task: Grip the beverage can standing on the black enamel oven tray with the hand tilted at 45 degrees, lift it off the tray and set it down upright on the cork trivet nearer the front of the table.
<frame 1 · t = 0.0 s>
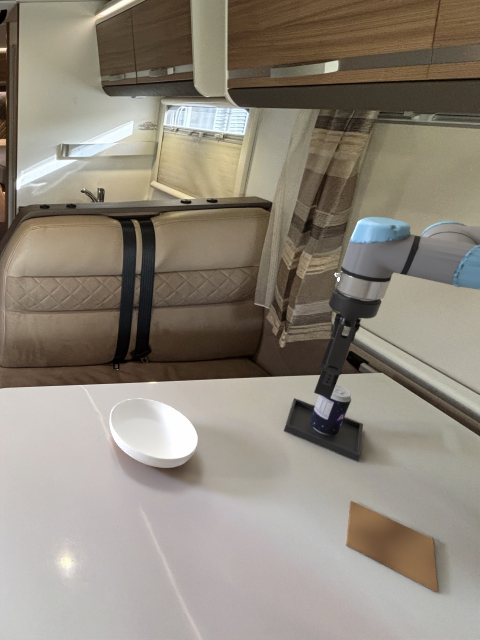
hand: (325, 379, 94), 21 cm above the table, tool pointing down, fingers open, 13 cm apart
bowl: (148, 446, 103), on the table
trivet: (389, 543, 81), on the table
beverage can: (322, 429, 107), resting on oven tray
oven tray: (322, 430, 107), on the table
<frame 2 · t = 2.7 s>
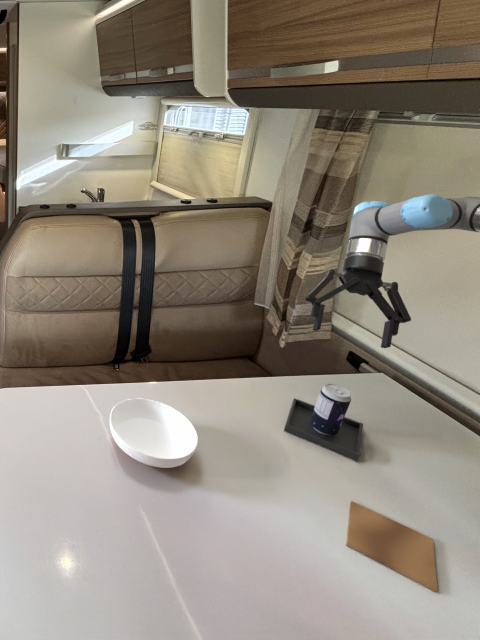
hand: (349, 338, 105), 23 cm above the table, tool tilted 40°, fingers open, 13 cm apart
nothing on the table moved.
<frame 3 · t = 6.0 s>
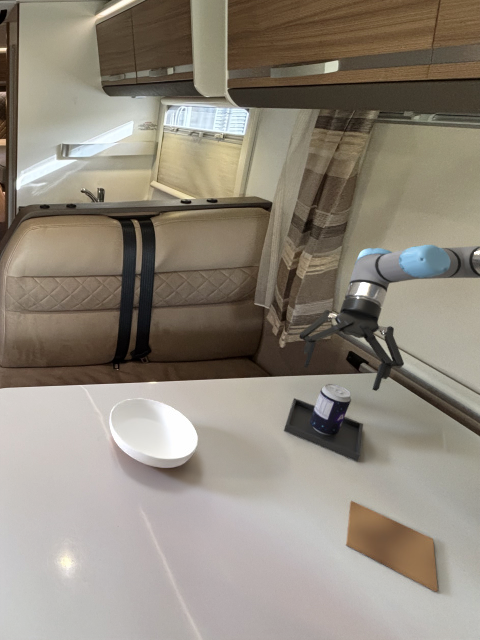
hand: (339, 377, 107), 12 cm above the table, tool tilted 45°, fingers open, 13 cm apart
nothing on the table moved.
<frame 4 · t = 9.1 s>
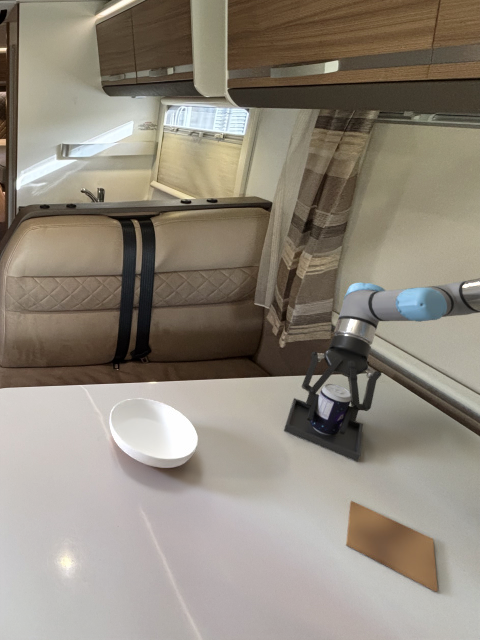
hand: (325, 426, 103), 4 cm above the table, tool tilted 45°, fingers closed on beverage can, 6 cm apart
beverage can: (322, 429, 107), resting on oven tray, touching gripper
everything else where it was.
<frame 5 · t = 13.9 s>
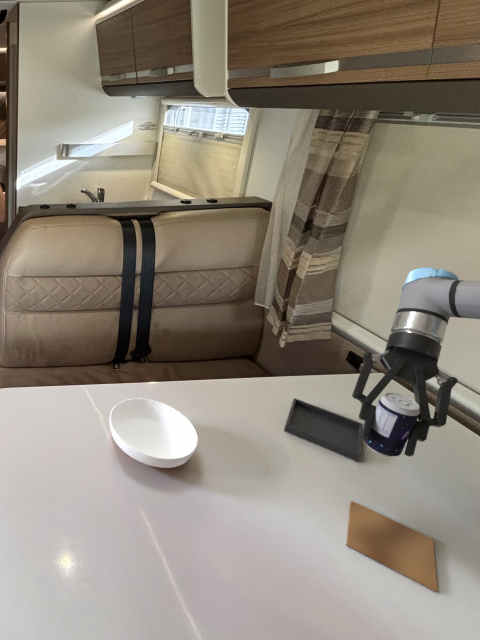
hand: (385, 445, 82), 16 cm above the table, tool tilted 45°, fingers closed on beverage can, 6 cm apart
beverage can: (379, 449, 86), point 12 cm above the table, touching gripper
everything else where it was.
when the fingers open (4 cm above the table, at t = 19.0 s): beverage can stays where it is, resting on trivet.
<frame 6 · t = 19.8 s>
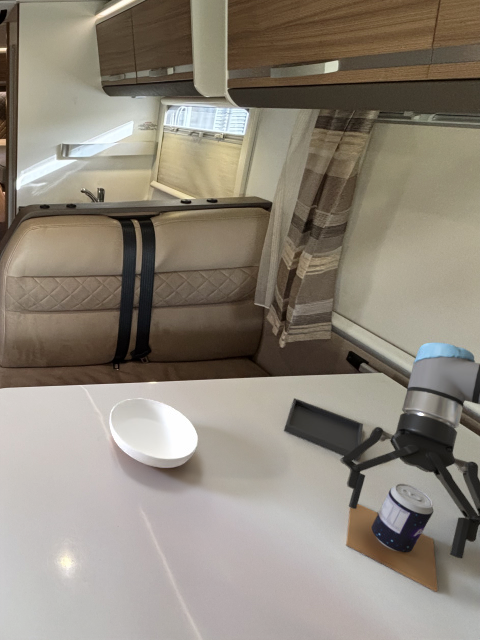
hand: (401, 530, 77), 6 cm above the table, tool tilted 45°, fingers open, 13 cm apart
beverage can: (389, 541, 81), resting on trivet
everything else where it was.
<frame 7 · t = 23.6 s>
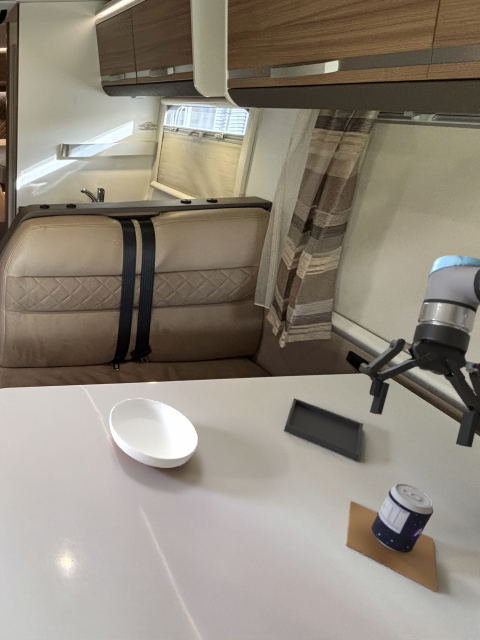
hand: (418, 429, 84), 18 cm above the table, tool tilted 40°, fingers open, 13 cm apart
nothing on the table moved.
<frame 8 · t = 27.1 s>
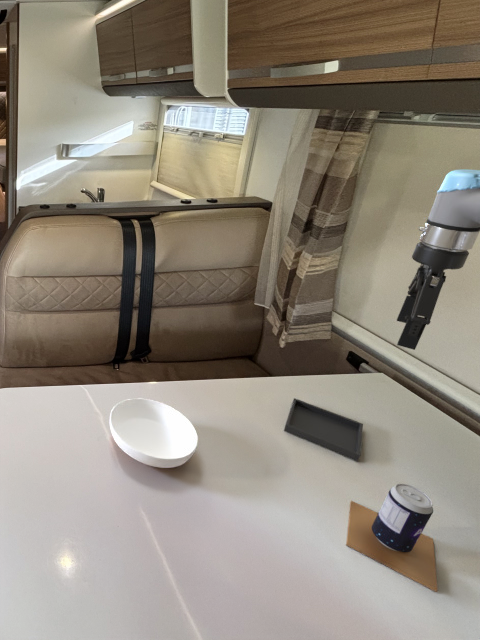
hand: (405, 334, 96), 29 cm above the table, tool pointing down, fingers open, 13 cm apart
nothing on the table moved.
at the end: beverage can inside the target area on the trivet (0.1 cm from its centre), point 0.4 cm above the trivet's base; beverage can tilted 0°; the gripper is holding nothing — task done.
